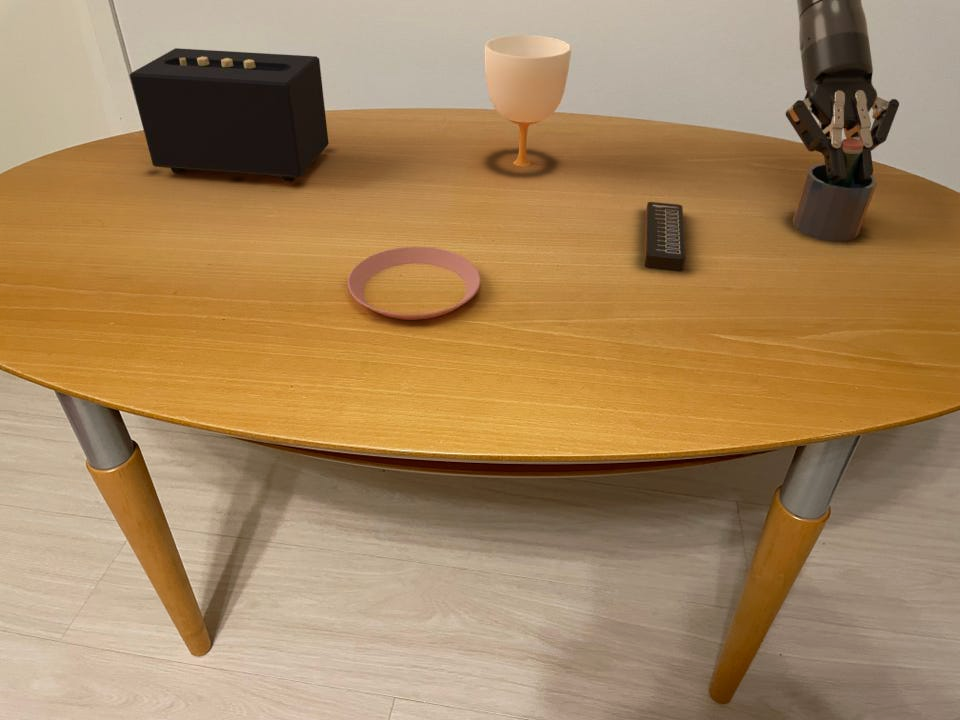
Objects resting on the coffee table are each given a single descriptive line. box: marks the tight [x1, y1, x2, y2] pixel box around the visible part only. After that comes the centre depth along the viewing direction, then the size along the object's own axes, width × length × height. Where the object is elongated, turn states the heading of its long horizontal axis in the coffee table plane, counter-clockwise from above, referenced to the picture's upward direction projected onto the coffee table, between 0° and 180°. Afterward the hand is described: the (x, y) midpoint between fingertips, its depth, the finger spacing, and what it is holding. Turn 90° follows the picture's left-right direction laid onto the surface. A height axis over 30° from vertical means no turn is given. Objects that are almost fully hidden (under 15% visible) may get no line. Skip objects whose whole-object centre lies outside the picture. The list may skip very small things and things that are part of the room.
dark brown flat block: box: [643, 201, 686, 272], centre depth 90 cm, size 4×14×2 cm, turn 169°
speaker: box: [129, 47, 330, 183], centre depth 104 cm, size 22×13×15 cm, turn 82°
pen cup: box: [792, 163, 878, 243], centre depth 92 cm, size 8×8×8 cm
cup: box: [484, 34, 572, 168], centre depth 105 cm, size 12×12×17 cm
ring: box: [347, 246, 482, 321], centre depth 81 cm, size 14×14×2 cm
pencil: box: [829, 138, 864, 188], centre depth 90 cm, size 2×2×8 cm
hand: (851, 181), depth 88 cm, fingers closed on pencil, 2 cm apart
